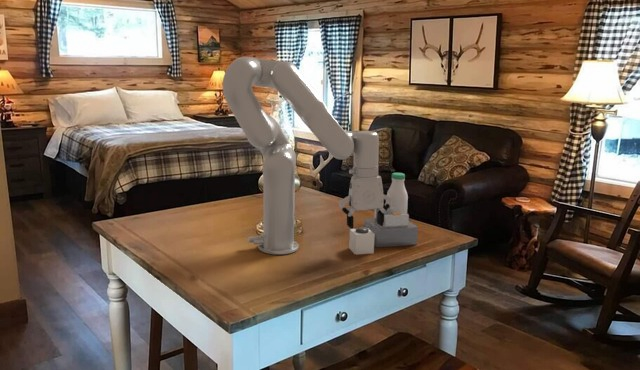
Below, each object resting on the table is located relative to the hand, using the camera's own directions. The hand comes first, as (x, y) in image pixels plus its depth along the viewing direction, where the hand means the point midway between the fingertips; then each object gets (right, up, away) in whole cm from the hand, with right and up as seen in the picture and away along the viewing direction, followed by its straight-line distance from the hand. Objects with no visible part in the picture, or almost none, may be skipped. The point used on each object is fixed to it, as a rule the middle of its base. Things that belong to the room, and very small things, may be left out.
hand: (365, 226), depth 171 cm
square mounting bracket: (+9, -6, +13) cm, 17 cm away
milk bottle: (+13, -3, +26) cm, 29 cm away
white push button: (-1, -8, +2) cm, 8 cm away
